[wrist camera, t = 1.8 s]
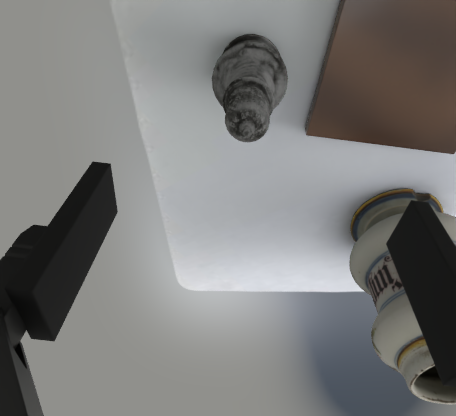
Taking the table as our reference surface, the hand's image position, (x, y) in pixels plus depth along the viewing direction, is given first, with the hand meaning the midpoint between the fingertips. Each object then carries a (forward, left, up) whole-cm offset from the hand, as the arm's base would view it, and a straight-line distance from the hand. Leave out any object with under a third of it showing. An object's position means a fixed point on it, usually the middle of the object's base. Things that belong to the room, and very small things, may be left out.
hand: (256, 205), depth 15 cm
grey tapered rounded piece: (0, -1, -18) cm, 18 cm away
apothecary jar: (+15, +18, -18) cm, 30 cm away
